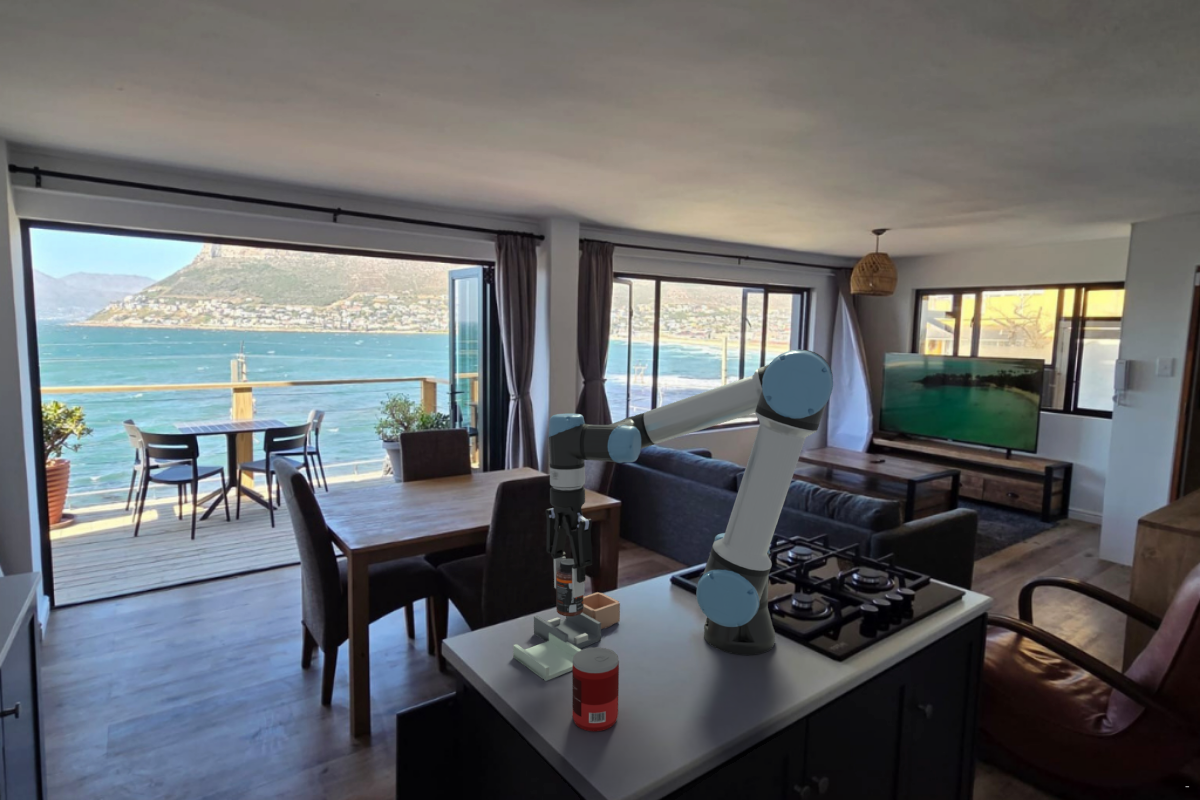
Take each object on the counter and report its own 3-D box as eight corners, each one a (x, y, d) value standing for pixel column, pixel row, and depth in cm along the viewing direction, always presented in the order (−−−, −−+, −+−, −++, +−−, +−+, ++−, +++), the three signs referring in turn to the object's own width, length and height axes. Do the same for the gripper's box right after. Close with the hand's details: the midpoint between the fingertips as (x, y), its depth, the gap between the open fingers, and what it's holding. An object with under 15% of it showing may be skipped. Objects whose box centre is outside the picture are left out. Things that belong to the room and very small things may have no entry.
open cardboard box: (620, 622, 145) (621, 602, 145) (594, 632, 140) (594, 611, 140) (598, 611, 151) (599, 591, 151) (572, 620, 146) (572, 600, 146)
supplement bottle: (580, 618, 134) (579, 566, 133) (553, 616, 135) (552, 565, 134) (586, 607, 140) (585, 557, 139) (560, 605, 141) (559, 556, 140)
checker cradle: (600, 640, 137) (600, 622, 136) (565, 654, 130) (565, 635, 130) (568, 621, 145) (568, 605, 145) (533, 634, 139) (533, 616, 139)
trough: (585, 665, 126) (585, 652, 126) (545, 681, 120) (545, 668, 120) (551, 643, 135) (551, 631, 135) (513, 657, 129) (513, 645, 129)
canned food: (627, 717, 109) (628, 656, 108) (596, 739, 103) (596, 674, 102) (594, 700, 114) (594, 642, 113) (563, 720, 108) (563, 658, 107)
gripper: (528, 481, 140) (530, 583, 142) (580, 496, 125) (582, 609, 127) (555, 476, 144) (557, 575, 146) (609, 490, 130) (610, 599, 132)
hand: (569, 590), depth 137 cm, fingers closed on supplement bottle, 6 cm apart
